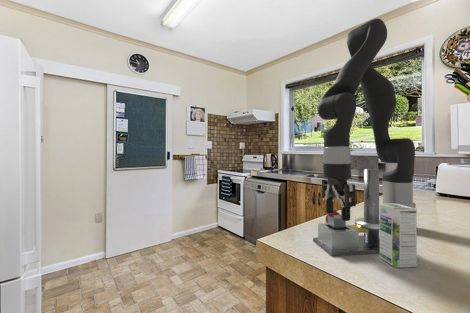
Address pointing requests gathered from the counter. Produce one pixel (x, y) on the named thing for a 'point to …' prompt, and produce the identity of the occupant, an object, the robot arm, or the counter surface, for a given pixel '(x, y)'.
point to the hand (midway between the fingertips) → (337, 216)
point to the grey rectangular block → (336, 222)
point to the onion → (332, 214)
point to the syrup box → (398, 235)
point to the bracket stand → (356, 225)
